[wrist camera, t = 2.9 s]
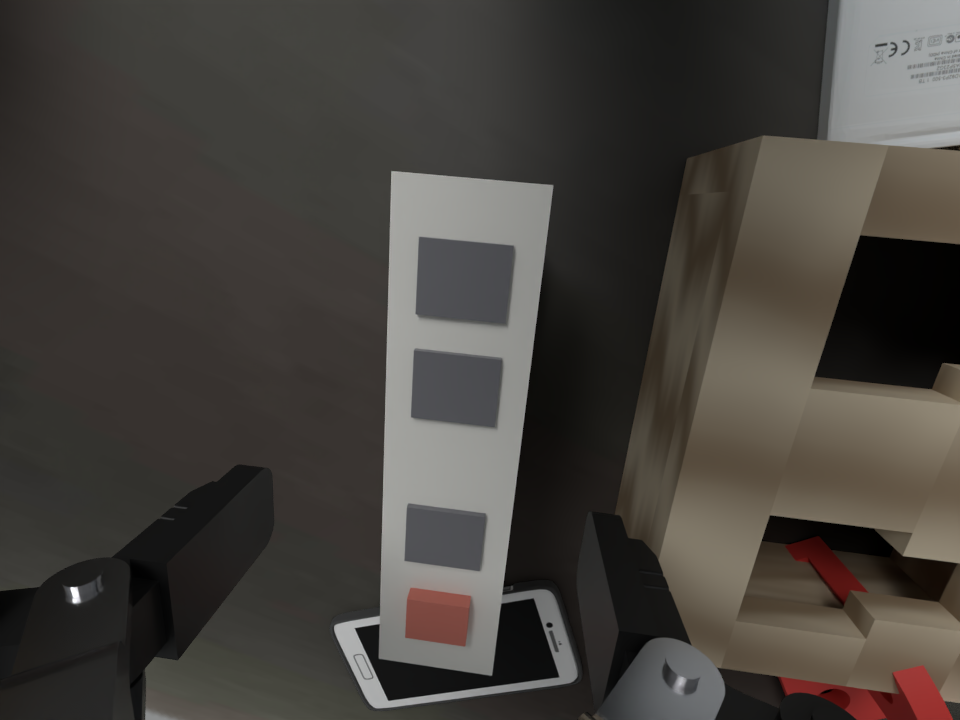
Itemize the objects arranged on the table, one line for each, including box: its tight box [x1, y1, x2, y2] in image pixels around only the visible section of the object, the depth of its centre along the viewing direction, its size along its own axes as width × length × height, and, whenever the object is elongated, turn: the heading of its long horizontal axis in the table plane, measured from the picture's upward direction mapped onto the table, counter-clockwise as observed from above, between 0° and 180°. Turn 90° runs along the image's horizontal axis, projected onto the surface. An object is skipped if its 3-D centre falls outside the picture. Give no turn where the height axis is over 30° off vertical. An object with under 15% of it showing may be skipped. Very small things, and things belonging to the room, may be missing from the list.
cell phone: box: [330, 580, 583, 711], centre depth 30 cm, size 8×15×1 cm, turn 107°
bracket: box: [778, 536, 953, 720], centre depth 23 cm, size 12×4×8 cm, turn 26°
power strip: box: [379, 171, 553, 676], centre depth 18 cm, size 16×4×9 cm, turn 175°
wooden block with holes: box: [615, 135, 960, 703], centre depth 20 cm, size 20×16×7 cm
